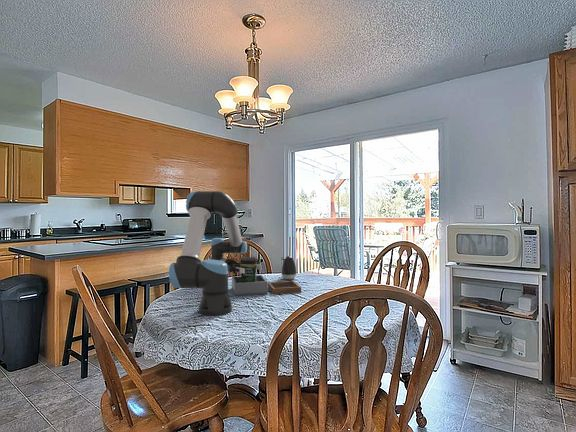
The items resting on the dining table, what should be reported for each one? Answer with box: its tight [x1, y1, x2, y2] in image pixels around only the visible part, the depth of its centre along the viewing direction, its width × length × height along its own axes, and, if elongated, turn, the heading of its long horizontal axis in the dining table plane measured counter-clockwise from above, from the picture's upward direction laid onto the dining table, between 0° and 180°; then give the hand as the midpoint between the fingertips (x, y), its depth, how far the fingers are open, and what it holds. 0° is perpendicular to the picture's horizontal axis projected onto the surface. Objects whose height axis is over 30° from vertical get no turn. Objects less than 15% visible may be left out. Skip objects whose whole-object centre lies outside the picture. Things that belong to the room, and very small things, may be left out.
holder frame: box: [268, 280, 302, 295], centre depth 196 cm, size 16×16×3 cm
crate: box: [231, 274, 269, 297], centre depth 193 cm, size 18×18×7 cm
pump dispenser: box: [280, 255, 298, 280], centre depth 226 cm, size 10×10×15 cm
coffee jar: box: [239, 256, 258, 283], centre depth 193 cm, size 10×8×19 cm
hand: (252, 269), depth 191 cm, fingers open, 13 cm apart
